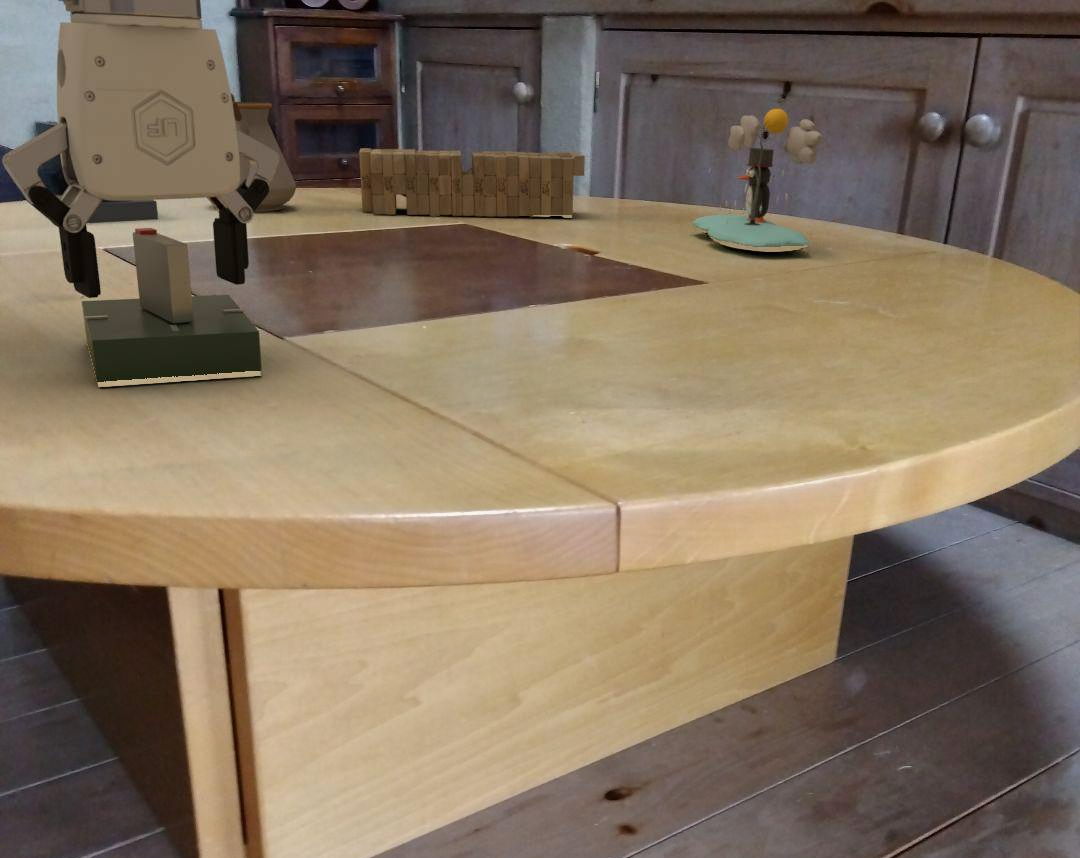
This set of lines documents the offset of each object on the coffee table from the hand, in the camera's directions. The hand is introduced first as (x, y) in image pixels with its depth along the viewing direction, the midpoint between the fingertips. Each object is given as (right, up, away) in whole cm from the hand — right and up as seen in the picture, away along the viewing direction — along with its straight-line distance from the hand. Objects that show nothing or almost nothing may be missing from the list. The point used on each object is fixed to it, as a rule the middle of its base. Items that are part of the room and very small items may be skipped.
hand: (161, 287), depth 74 cm
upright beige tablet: (0, -2, +1) cm, 2 cm away
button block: (-28, +22, +61) cm, 70 cm away
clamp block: (0, -4, +2) cm, 5 cm away
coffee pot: (-12, +25, +69) cm, 74 cm away
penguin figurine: (+50, +18, +59) cm, 79 cm away
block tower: (+16, +27, +76) cm, 82 cm away
